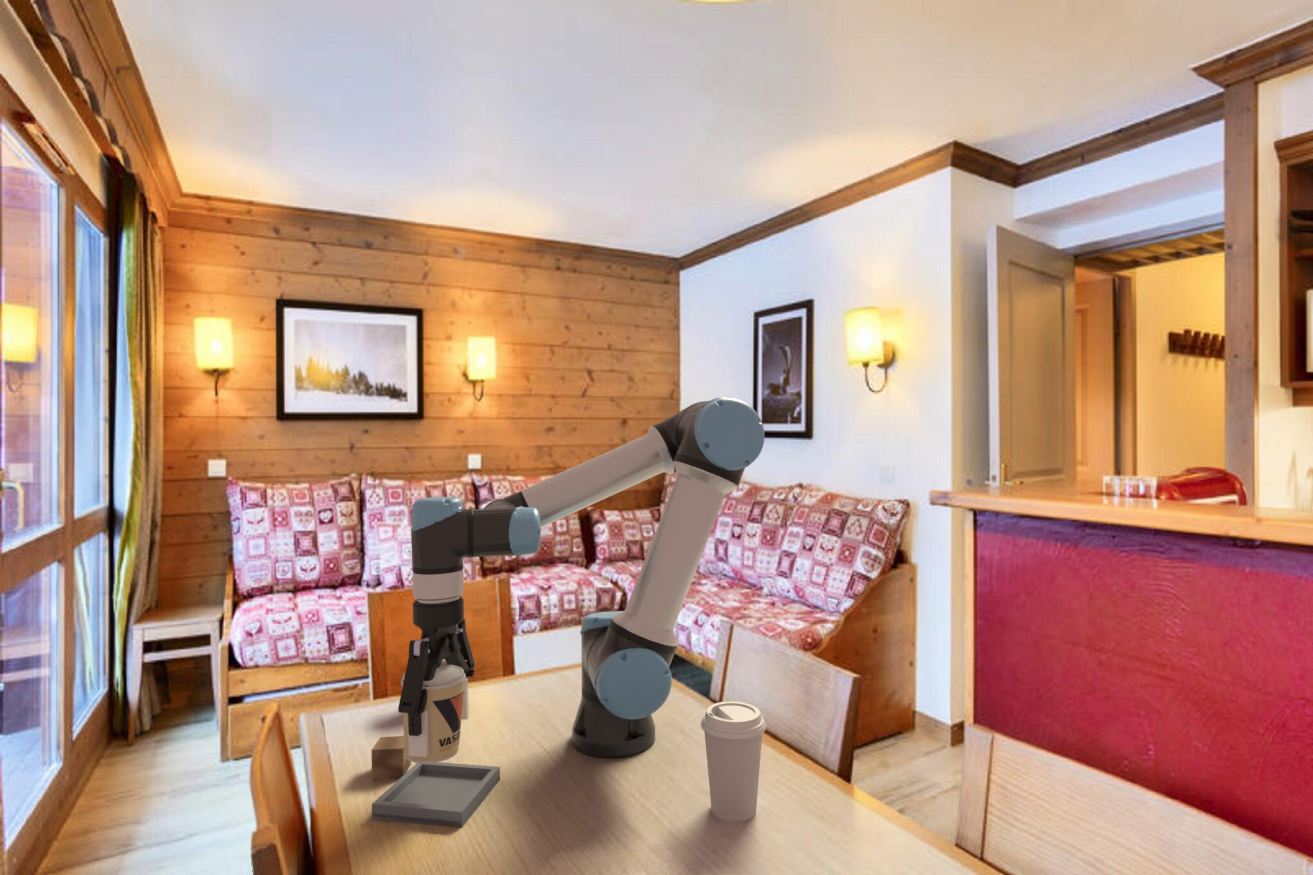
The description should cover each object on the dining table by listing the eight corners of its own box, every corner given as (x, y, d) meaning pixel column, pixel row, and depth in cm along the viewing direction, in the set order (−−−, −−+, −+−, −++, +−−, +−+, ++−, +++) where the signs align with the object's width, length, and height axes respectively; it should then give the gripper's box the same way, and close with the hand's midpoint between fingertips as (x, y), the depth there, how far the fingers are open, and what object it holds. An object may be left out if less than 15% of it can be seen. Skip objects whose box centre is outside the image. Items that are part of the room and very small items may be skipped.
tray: (499, 780, 115) (499, 766, 115) (462, 827, 101) (461, 811, 101) (419, 773, 117) (419, 760, 117) (371, 818, 103) (371, 803, 103)
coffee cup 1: (445, 768, 101) (446, 683, 102) (386, 762, 103) (388, 679, 103) (474, 743, 110) (476, 665, 111) (420, 738, 112) (421, 661, 113)
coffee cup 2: (700, 796, 109) (699, 699, 109) (762, 796, 109) (761, 699, 109) (702, 830, 100) (701, 724, 100) (770, 831, 99) (769, 724, 99)
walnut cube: (410, 764, 121) (410, 735, 121) (403, 778, 116) (403, 748, 116) (380, 766, 120) (380, 737, 120) (371, 780, 115) (371, 749, 115)
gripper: (452, 580, 122) (454, 704, 122) (370, 617, 97) (372, 772, 97) (493, 581, 121) (495, 706, 121) (420, 619, 96) (423, 775, 96)
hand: (440, 735), depth 109 cm, fingers open, 13 cm apart
